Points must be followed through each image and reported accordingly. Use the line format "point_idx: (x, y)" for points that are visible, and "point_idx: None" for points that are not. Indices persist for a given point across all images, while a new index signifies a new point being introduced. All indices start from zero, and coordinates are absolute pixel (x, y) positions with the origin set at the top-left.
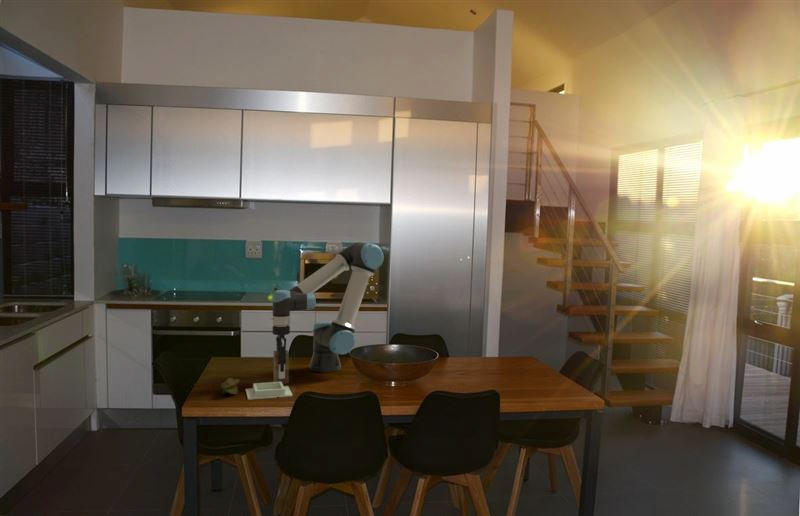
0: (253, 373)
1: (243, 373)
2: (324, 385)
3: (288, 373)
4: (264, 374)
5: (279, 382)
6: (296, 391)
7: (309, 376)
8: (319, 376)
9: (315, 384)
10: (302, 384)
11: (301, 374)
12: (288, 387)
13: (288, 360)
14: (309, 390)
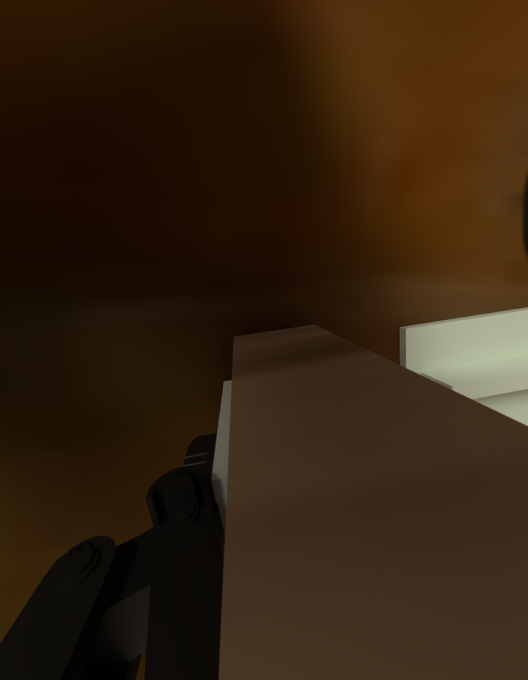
0: (8, 570)
1: (13, 622)
2: (416, 13)
3: (349, 341)
4: (33, 501)
5: (471, 398)
6: (503, 270)
7: (90, 128)
8: (88, 8)
9: (369, 100)
10: (348, 217)
11: (12, 206)
12: (443, 324)
13: (481, 405)
14: (510, 173)
